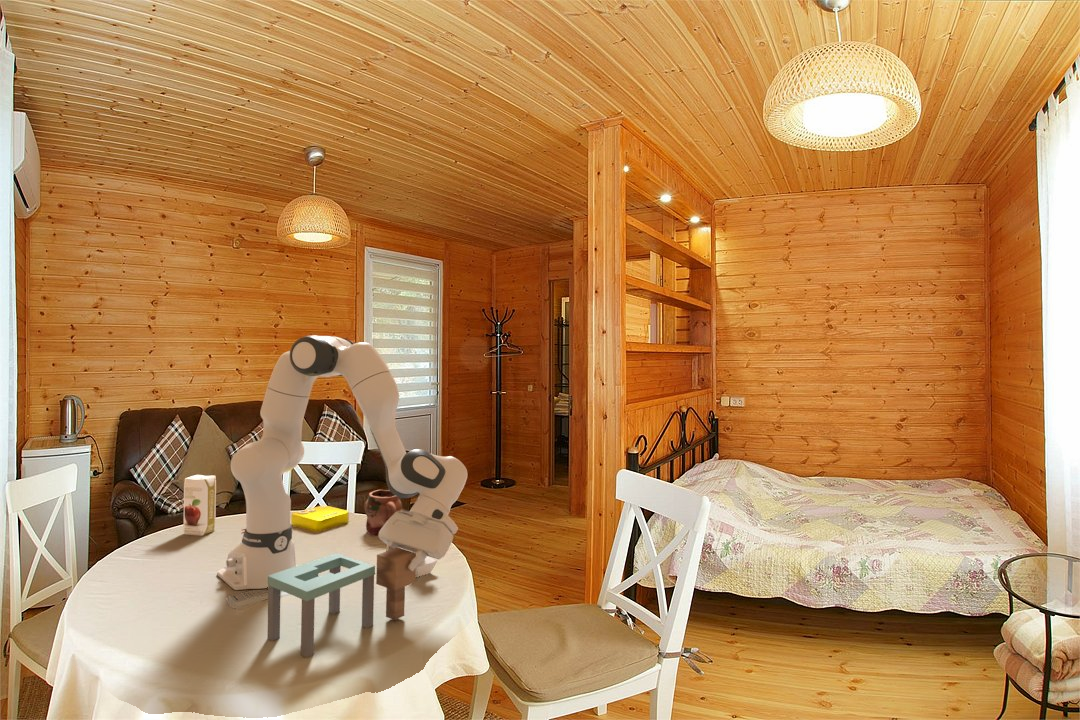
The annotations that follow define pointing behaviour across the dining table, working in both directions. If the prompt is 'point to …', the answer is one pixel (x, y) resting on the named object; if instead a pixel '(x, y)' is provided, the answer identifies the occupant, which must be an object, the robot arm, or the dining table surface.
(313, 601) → the keyhole shelf
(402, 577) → the walnut peg
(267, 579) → the robot arm
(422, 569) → the figurine
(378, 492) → the decorative planter
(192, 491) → the juice carton
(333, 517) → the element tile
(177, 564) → the dining table surface
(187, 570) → the dining table surface
